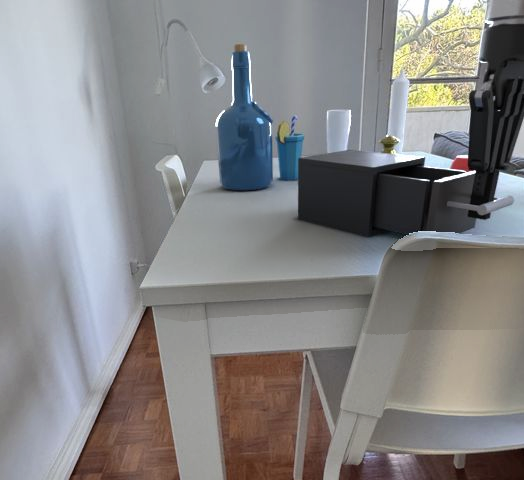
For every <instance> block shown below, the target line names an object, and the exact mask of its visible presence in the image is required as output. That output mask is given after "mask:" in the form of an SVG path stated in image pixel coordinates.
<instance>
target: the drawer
mask: <svg viewBox="0 0 524 480" xmlns="http://www.w3.org/2000/svg"><path fill="white" fill-rule="evenodd" d="M475 173H476V171H472V172H468V173H467V171H462V170H453V169H450V168H443V167H434V166H426V165H424V166H418V165H411V166H407V167H402V168H397V169H392V170H388V171H383V172H378V173H377V179H376V191H375V202H374V214H373V226H372V227H376V228H381V229H385V230H387V231H390V232H394V233H399V234H403V235H407V234H409V233H413V232H418V231H436V232H455V233H460V234H462V233H465V232H467V231H470V230H473V229H475V228H476V222H477V218H472V217H467V216H468V210H474V211H477V212H478V214H479V215H485V214H488V213H490V212H491V213H493V212H495V211H498V210H499V211H500V210H501V209H504V208H507V207H509V206H512V205H513V204H514V203H515V198H514V196H512V195H507V196H504V197H499V196H494V201H491V202H488V203H486V204H483V205H480V206H476V205H470V200H471V194H472V189H473V183H474V178H475Z"/></svg>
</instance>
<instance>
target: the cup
mask: <svg viewBox="0 0 524 480" xmlns="http://www.w3.org/2000/svg"><path fill="white" fill-rule="evenodd" d="M297 120H299V117H298V116H297V115H295V114H292V117H291V123H290V124H289V123H288V122H287V121H286V120H282V121H281V122H280V123H279V124H278V127H277V132H276V134H275V135H274V139H275V141H276V149H277V158H278V159H277V161H278V171H279V179H280V180H281V181H298V158H301V157H303V156H302V155H303V144H304V140H305V135H304V134H303V133H295V124H296V123H295V122H296V121H297Z"/></svg>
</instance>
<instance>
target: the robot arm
mask: <svg viewBox="0 0 524 480" xmlns="http://www.w3.org/2000/svg"><path fill="white" fill-rule="evenodd" d="M486 4H487V8H486V13H485V18H484V21H485V23H487V24H489V25H488V27H486V28H484V30H483V31H482V34H481V39H480V45H479V50H478V51H479V52H478V58H477V59H478V61H479V62H480V63H484V64H485V63H487V66H486V69H485V72H484V75H483V77H482V85H481V87H479V89H474V90H473V89H472V90H470V92H469V94H468V100H469V102H468V103H469V109H470V117H469V131H468V132H469V133H468V148H467V149H468V150H467V151H468V152H467V155H468V168H469V170H473V171H476V173H475V178H474V183H473V189H472V194H471V200H470V205H476V206H480V205H483V204H486V203H488V202H491V201H494V197H496V196H495V195H496V191H497V186H498V182H499V176H500V171H505V172H507V171H508V169H509V167H510V165H508V164H509V163H511V159H512V156H513V153H514V150H515V147H516V144H517V141H518V137H519V134H520V131H521V128H522V126H523V122H524V0H486ZM491 214H492V212H490V213H488V214H485V215H479V214H478V212H477V211H474V210H468V216H467V217H472V218H476V220H483V221H485V220H489V219H491Z"/></svg>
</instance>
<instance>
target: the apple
mask: <svg viewBox="0 0 524 480" xmlns="http://www.w3.org/2000/svg"><path fill="white" fill-rule="evenodd" d="M449 169H453V170H462V171H467V173H468V172H472V171H473V170H469V168H468V154H463V155H457V156H456V157H455V158H454V159H453V161H451V165H450V168H449Z"/></svg>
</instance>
